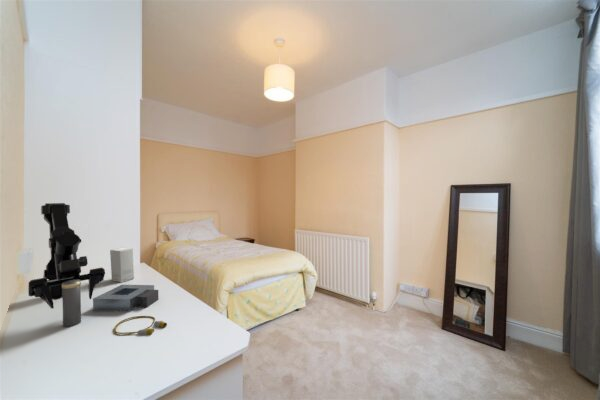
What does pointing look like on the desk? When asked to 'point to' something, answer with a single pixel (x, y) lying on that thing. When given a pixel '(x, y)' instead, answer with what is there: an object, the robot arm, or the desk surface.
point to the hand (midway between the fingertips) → (72, 303)
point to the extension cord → (143, 331)
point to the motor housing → (126, 298)
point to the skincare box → (122, 264)
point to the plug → (71, 302)
